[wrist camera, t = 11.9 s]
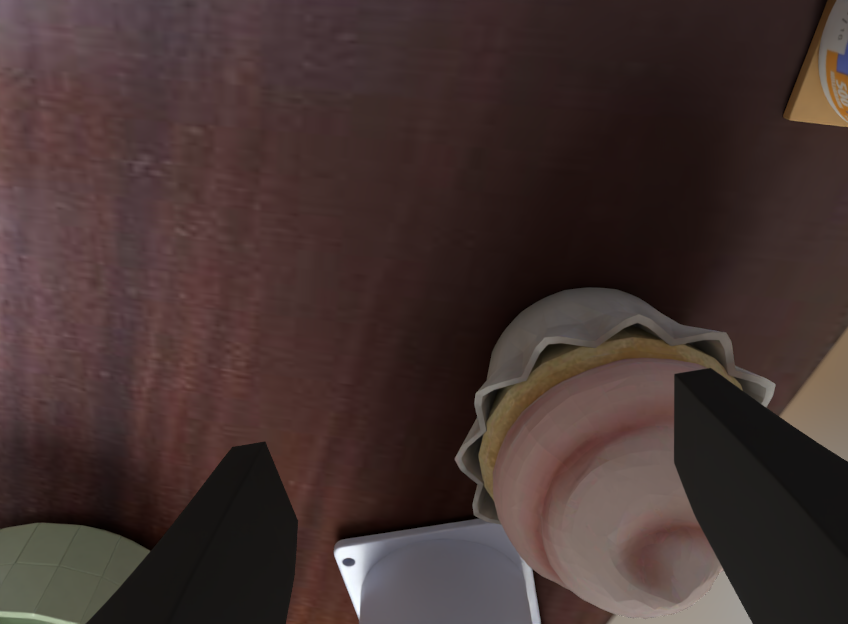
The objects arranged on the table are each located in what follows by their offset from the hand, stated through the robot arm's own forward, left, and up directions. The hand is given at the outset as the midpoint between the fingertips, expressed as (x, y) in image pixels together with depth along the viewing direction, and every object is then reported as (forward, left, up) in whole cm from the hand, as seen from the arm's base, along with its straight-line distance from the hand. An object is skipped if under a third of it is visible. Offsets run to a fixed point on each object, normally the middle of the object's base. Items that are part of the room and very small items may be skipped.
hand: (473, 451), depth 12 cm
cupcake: (-6, -4, -11) cm, 13 cm away
